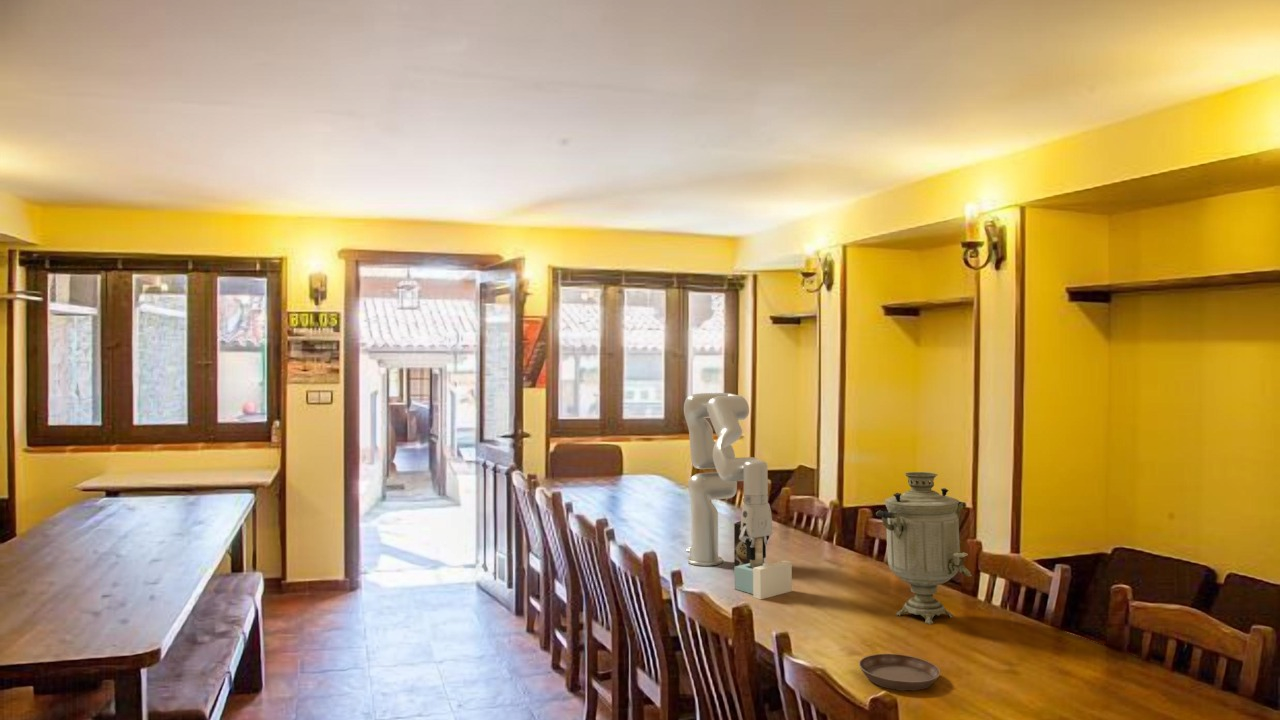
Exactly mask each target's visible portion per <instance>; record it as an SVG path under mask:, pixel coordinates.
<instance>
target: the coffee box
mask: <svg viewBox="0 0 1280 720" xmlns="http://www.w3.org/2000/svg"><path fill="white" fill-rule="evenodd" d="M733 525H734V527H733V528H734V529H733V533H734V534H733V537H734V538H733V539H734V542H733V543H734V544H733V545H734V547H733V549H734V550H733V551H734V553H733V554H734V555H733V556H734V557H733V558H734V559H733V561H734V563H733V565H734V567H733V570H734V571H735V566H739V565H744V564H748V563H750V559H747V546H745V544H744V543H743V541H741V540H740V539H739V536H740V534H741V520H740V521H737V522H735V523H734V524H733ZM749 541H750V539H749ZM763 563H764V564H765V558H763Z"/></svg>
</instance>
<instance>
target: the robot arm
mask: <svg viewBox="0 0 1280 720" xmlns="http://www.w3.org/2000/svg"><path fill="white" fill-rule="evenodd" d="M749 414H750V407H749V403H748V401H747V400H746V398H745V397H743V396H742V395H739V394H734V393H730V392H714V393H713V392H704V393H703V392H702V393H694V394H690V395H689V396H687V397H686V398H685V400H684V403H683V415H684V418H685V421H686V425H687V429H688V433H689V436H688V437H689V449H690V451H689V452H690V461H691V462H690V463H691V465H692V466H693V468H695V469H697V470H698V469H699V470H709V469H715V470H716V472H713V471H712V472H698V473H695V474H694V475H692V476H690V478H689V480H688V481H687V482H688V484H687V485H688V487H687V488H688V493H689V499H690V511H691V515H690V516H691V517H690V519H691V521H690V522H691V523H690V525H691V536H690V537H691V545H690V546H689V547H688V548H686V550H685V552H686V553H687V554H689V556H688V557H687V558H686V559H687V560H686V561H687V563H688V564H689V565H693V566H703V567H707V566H710V567H711V566H717V565H721V564H723V562H724V559H723V557H721V556H719V512H718V509H717V507H716V506H715V504H714V503H713V500H723V499H731V498H733V497H735V495H736V494H737V490H738V482H743V498H742V502H743V505H742V508H741V509H742V510H741V515H740V517H741V518H740V521H741V534H740V536H739V539H740V540H741V541H743V543H744V544H745V546H747V559H750V560H755V547H754V540H755V538H759V537H763V558H764V559H766V557H767V553H766V551H767V545H768V540H769V539H770V537H771V536H772V535H773V517H772V509H771V505H770V503H769V502H768V501H769V496H768V494H769V492H768V490H769V488H768V483H769V481H768V479H769V477H768V476H769V475H768V474H769V473H768V463H767V462H766V461H765V460H761V459H758V458H756V457H753V456H747V457H742V456H741V457H736V454H735V451H734V448H733V446H732V444H734V443H736V442H737V441H738V440H739V439H741V437H742V435H743V429H742V427H741V425H740V422H739V421H741V420H745V419H747V417H748V416H749ZM706 418H709V419H710V422H711V424H712V425H711V424H710V422H709V421H708V420H707V419H706ZM714 432H715V434H716V437H717V439H716V441H714ZM749 539H751V541H749Z"/></svg>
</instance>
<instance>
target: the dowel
mask: <svg viewBox="0 0 1280 720" xmlns="http://www.w3.org/2000/svg"><path fill="white" fill-rule="evenodd" d="M750 541H751V539H750ZM754 547H755V560H750V568H751V569H753V568H754V567H759V566H763V537H759V538H755V540H754Z"/></svg>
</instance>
